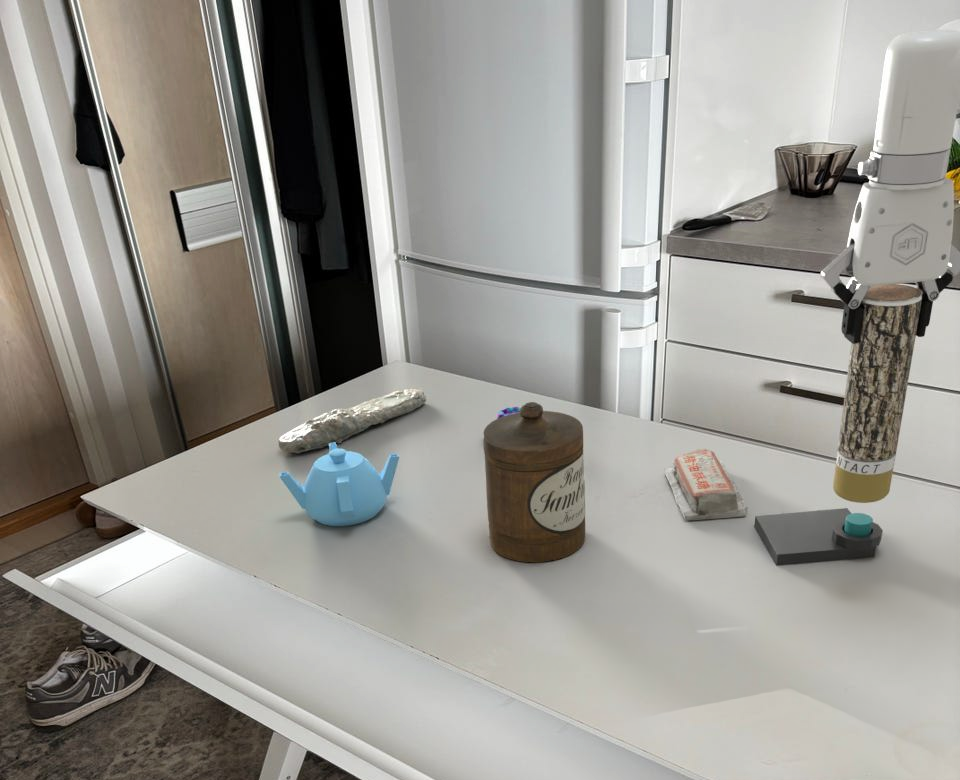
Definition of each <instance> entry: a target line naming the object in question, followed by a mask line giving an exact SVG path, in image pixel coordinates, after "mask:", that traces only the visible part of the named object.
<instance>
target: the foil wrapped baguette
mask: <svg viewBox="0 0 960 780" xmlns="http://www.w3.org/2000/svg"><path fill="white" fill-rule="evenodd" d="M426 402H427V395H425V393H424V391H423V388H410V389H403V390H402V389H401V390H395V391H393V392H389V393H387V394H385V395H383V396H379V397H376V398H373V399H370V400H367V401H364V402H362V403H360V404H357V405H355V406H353V407H349V408H348V407H347V408H335V409H332V410H331V411H326V412H324V413H322V414H320V415H319V416H316V417H314V418H312V419H308V420H306V421H305V423H303V424H300V425H298V426H297V427H295V428H292V430H289V431H288V432H286V433H284V434H283V435H281V436H280V437H279V439H278V448H279V449H280V450H281V451H282V452H286V453H294V454H300V453H303V452H307V451H312V450H318V449H323V448H324V447H329V443H334V442H336V443H337V444H342V442H343V441H345V440H348V439H349V438H350V437H352V436H354V435H358V434H359V433H361V432H364V431H365V430H367V429H368V428H370V427H371V426H373V425H378V424H383V423H385V422H386V421H388V420H390V419H393V418H395V417H400V416H403V415H406V414H409V413H411V412H413V411H414V410H415V409H417V408H421V406H422V405H424V404H425V403H426Z"/></svg>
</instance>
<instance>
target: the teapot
mask: <svg viewBox="0 0 960 780" xmlns="http://www.w3.org/2000/svg"><path fill="white" fill-rule="evenodd" d="M337 444H338V443H337ZM337 444H336V442H334V443H329V445H328V448H329V452H328V453H327V454H324V455H322V456H320V457H318V458H317V459H316V460H315V461H314V463H313V464H312V466H311V468H310V471H309V473H308V475H307V477H306V481H305V483H304V484H303V485H302V484H301V483H300V482H299V481H298V480H297V479H296V478H294V476H293V475H292V474H291V473H290V471H284V472H279V474H278V475H279V478H280V480H281V481H282V482H283V484H284V486H286V488H287V489H288V491H289V492H290V494H291V495H292V497H294V499H295V501H296V502H297V503H298V505H299V506H300V507H301V509H303V510H305V512H306V513H307V515H308V516H309V517H310V518H312V519H313V520H315V521H316V522H318V523H319V524H322V525H325V526H329V527H347V526H348V527H349V526H354V525H358V524H362V523H365V522H367V521H369V520H371V519H373V518H374V517H376V516H377V515H379V513H380V511H381V510H382V509H383V507H384V506H385V504H386V502H387V498H388V496H390V493H391V489H392V485H393V481H394V478H395V474H396V472H397V467H398V464H399V460H400V453H391V454H389V455H388V458H387V460H386V462H385V464H384V466H383V468H382V471H381V472H380V473H379V472H378V471H377V470H376V468H375V467H374V466H373V465H372V464H371V463H370V461H369V460H368V459H367V458H366V457H364V456H363V455H362V454H361V453H359V452H356V451H350V450H349V451H348V450H346V449H344V448H339V447H338V445H337Z"/></svg>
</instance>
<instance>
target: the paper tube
mask: <svg viewBox="0 0 960 780" xmlns="http://www.w3.org/2000/svg"><path fill="white" fill-rule="evenodd" d="M922 294H923V292H922V291H921V290H920V289H918V288H917V287H915V286H911V285H907V284H906V285H905V284H893V285H883V286H871V287H870V288H869V290H868V292H867V293H866V295H865V297H864V298H863V300H862V302H861V304H860V307H861V308H863V310H864V313H863V321H862V328H861V335H860V341H859V342H858V343H856V344H852V343H850V344H851V345H850V351H849V359H848V368H847V375H846V381H845V382H846V384H845V390H844V399H843V404H842V405H843V407H842V413H841V414H842V415H841V421H840V423H841V424H840V427H839V428H840V429H839V437H838V445H837V451H836V452H837V453H836V460H835V469H834V478H833V485H832V488H833V491H834V493H835V494H836V495H837V496H838V497H839V498H841V499H843V500H845V501H848V502H852V503H860V504H868V503H869V504H870V503H876V502H879V501H882V500H883V499H885V498H886V497H887V496H888V495H889V493H890V491H891V484H892V478H893V473H894V467H895V464H896V463H895V461H896V456H897V451H898V445H899V439H900V433H901V426H902V422H903V421H902V419H903V415H904V408H905V402H906V397H907V390H908V384H909V378H910V373H911V368H912V367H911V366H912V360H913V355H914V350H915V342H916V337H917V336H916V331H917V325H918V319H919V313H920V307H921V301H922Z"/></svg>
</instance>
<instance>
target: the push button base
mask: <svg viewBox="0 0 960 780" xmlns="http://www.w3.org/2000/svg"><path fill="white" fill-rule="evenodd" d="M849 514H852V512H851V511H850V509H849V508H848V507H844V508H834V509H833V508H831V509H819V510H809V511H798V512H796V511H795V512H787V513H774V514H773V513H772V514H762V515H755V516H754V524H753V526H754V529H755V531H756V532H757V534H758V536H759V538H760V540H761V541H762V543H763V545H764V547H765V548H766V550H767V552H768V553H769V555H770V557H771V559H772V561H773V563H774V564H775V566H778V567H779V566H790V565H803V564H812V563H813V564H814V563H824V562H825V563H826V562H837V561H849V560H859V559H871V558H872V559H873V558H875V557H876V551H877V547H879V546H880V545H881V541H882V536H883V531H884V530H883V528H882V527H881V526H880V525H879V524H878V523H876V522H874V521H873V523H872V529H871V533H870V535H868V536H853V535H849V534H847V533H845V531H844V528H845V521H846V517H847V516H848V515H849Z"/></svg>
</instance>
